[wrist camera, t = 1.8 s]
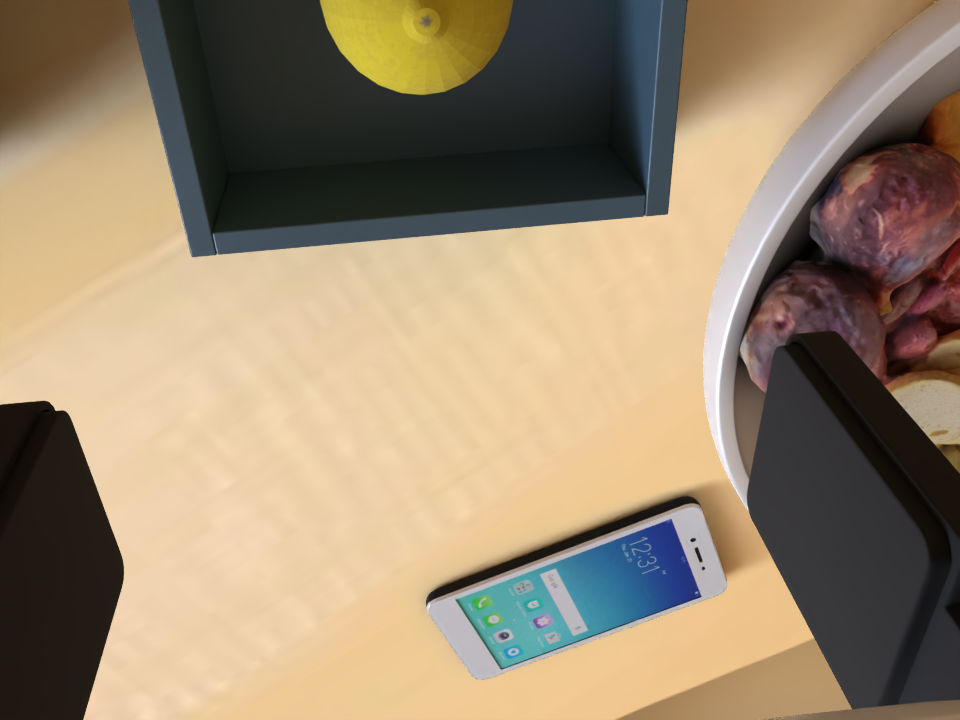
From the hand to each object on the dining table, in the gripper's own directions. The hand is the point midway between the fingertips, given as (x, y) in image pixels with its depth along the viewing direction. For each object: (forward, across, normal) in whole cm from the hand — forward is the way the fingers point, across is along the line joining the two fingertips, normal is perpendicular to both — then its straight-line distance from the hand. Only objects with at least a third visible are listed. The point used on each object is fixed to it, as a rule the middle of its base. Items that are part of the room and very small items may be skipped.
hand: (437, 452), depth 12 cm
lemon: (+22, -1, -2) cm, 22 cm away
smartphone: (+22, -8, +28) cm, 37 cm away
